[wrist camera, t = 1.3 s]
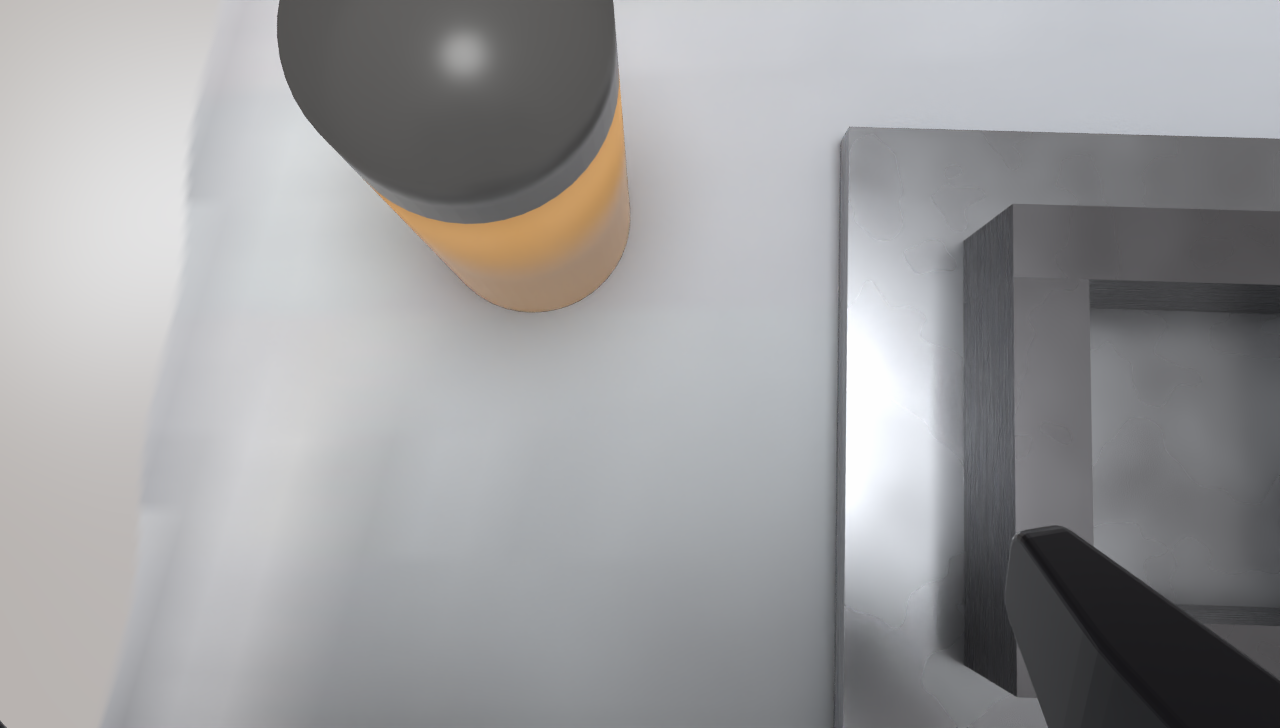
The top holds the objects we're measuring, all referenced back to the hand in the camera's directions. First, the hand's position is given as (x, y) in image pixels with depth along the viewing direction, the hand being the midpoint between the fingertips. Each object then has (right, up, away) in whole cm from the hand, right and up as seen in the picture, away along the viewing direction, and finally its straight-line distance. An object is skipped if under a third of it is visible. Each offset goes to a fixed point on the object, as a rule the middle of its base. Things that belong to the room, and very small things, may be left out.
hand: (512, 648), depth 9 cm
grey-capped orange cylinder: (-1, +6, +14) cm, 15 cm away
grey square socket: (+13, 0, +13) cm, 18 cm away
